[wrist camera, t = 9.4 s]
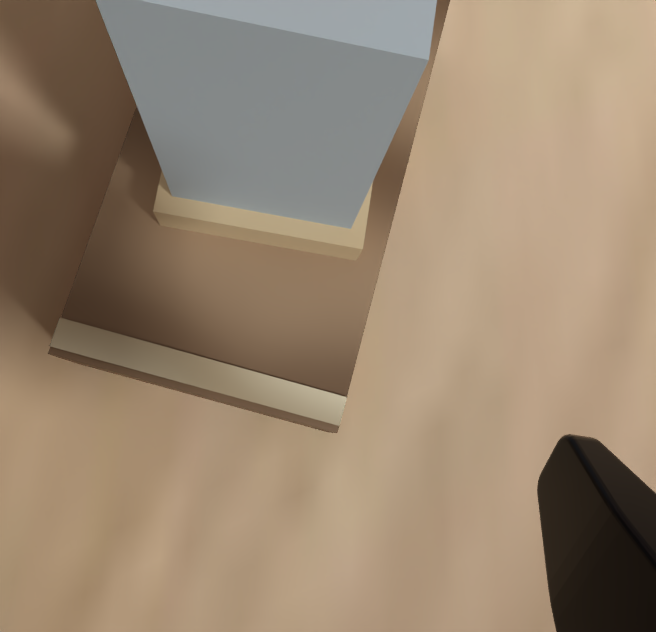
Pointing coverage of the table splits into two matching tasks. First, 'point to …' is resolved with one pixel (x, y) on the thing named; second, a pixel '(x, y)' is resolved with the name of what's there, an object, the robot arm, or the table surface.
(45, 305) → the table surface
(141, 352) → the dock
